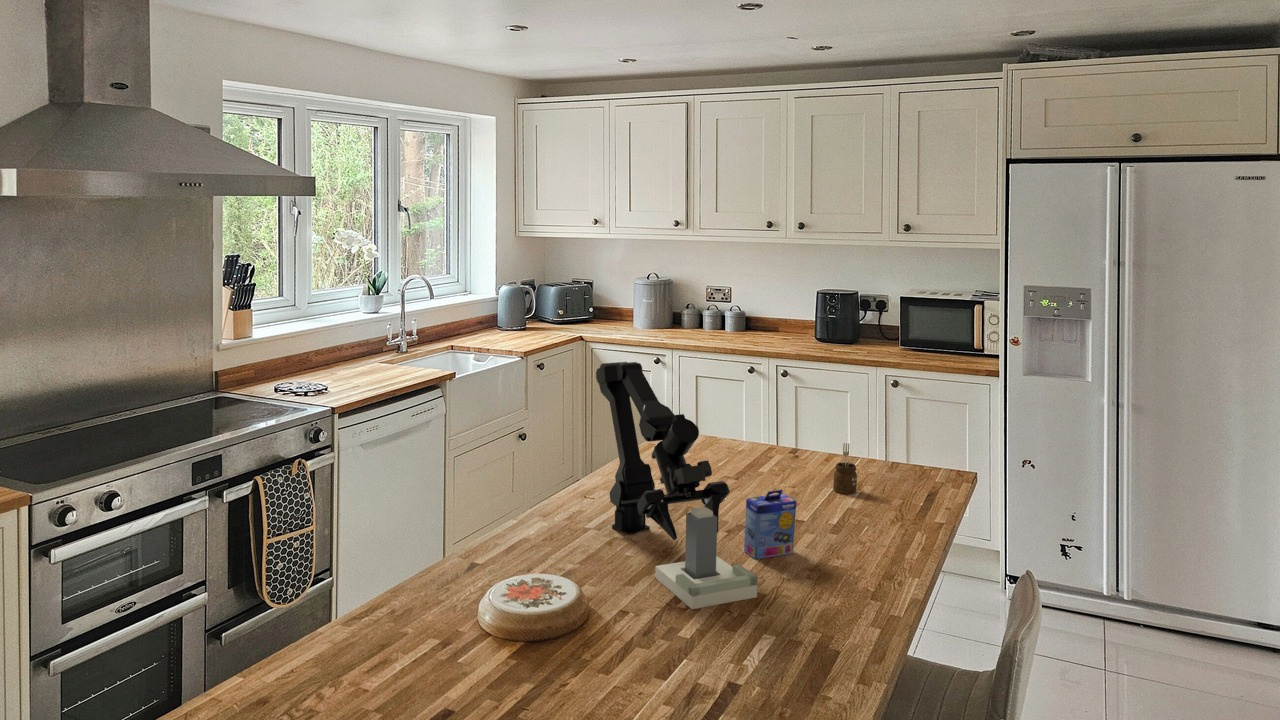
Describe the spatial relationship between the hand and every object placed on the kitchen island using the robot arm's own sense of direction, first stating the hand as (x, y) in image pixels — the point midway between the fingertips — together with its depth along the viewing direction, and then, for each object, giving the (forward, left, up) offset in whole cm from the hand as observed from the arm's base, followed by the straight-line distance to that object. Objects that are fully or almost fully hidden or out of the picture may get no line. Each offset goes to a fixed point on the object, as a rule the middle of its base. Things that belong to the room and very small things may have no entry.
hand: (696, 536), depth 193 cm
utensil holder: (-70, -19, -9) cm, 74 cm away
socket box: (+1, +4, -9) cm, 10 cm away
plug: (+1, +2, -9) cm, 9 cm away
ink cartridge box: (-22, -1, -9) cm, 24 cm away
